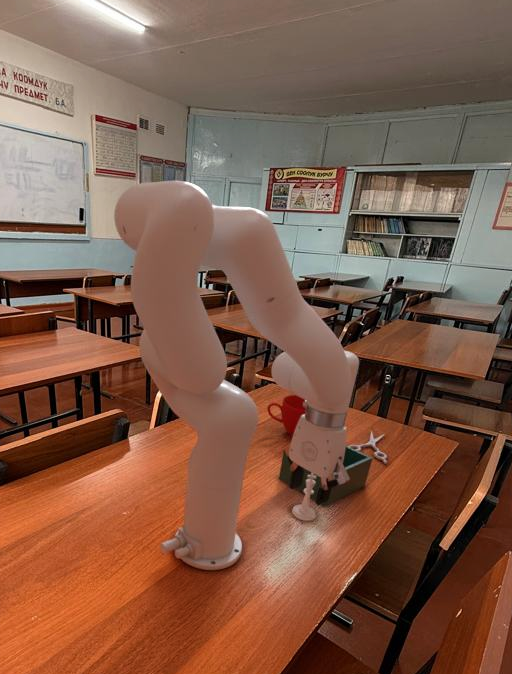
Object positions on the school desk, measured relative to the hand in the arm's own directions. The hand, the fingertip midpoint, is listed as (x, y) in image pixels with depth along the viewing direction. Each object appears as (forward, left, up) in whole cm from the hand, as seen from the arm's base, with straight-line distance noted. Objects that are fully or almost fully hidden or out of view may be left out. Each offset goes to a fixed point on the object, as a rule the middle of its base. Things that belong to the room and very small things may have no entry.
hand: (308, 493), depth 90 cm
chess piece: (0, 0, -5) cm, 5 cm away
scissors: (+44, +11, -5) cm, 46 cm away
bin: (+14, +6, -5) cm, 16 cm away
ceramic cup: (+29, +28, -5) cm, 41 cm away
